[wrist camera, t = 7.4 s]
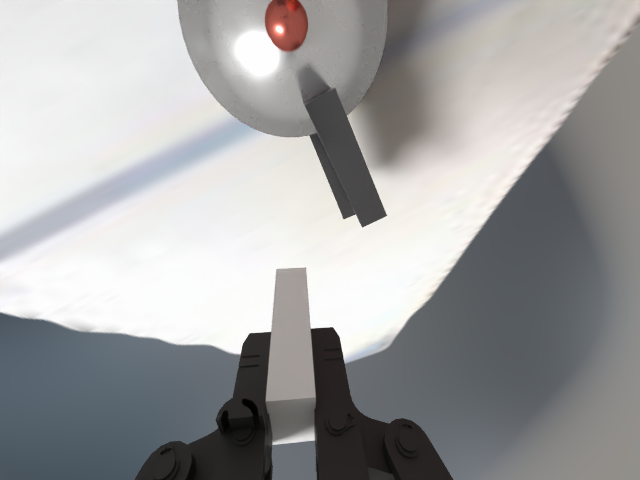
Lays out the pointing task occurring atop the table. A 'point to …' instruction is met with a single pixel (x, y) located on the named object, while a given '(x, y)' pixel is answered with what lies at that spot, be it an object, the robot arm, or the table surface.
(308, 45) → the lid
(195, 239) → the table surface
